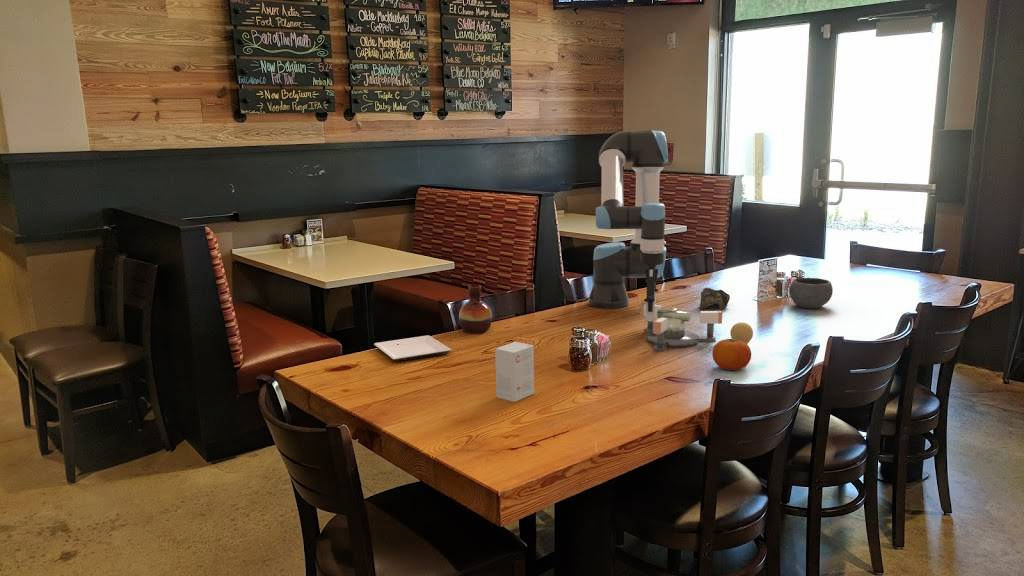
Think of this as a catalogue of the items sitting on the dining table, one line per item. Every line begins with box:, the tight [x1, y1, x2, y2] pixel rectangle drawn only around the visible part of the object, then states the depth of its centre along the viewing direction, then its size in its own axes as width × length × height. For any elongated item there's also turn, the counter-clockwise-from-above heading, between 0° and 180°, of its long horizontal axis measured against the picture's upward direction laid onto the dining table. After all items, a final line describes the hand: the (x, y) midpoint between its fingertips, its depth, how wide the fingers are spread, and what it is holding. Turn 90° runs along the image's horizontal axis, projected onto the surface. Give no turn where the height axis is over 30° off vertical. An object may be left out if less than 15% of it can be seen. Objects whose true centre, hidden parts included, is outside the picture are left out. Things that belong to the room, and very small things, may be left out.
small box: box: [494, 341, 535, 403], centre depth 197 cm, size 8×6×13 cm
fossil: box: [699, 287, 731, 311], centre depth 287 cm, size 11×9×10 cm
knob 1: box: [639, 302, 662, 329], centre depth 255 cm, size 6×2×8 cm, turn 60°
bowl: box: [789, 277, 834, 309], centre depth 287 cm, size 15×15×10 cm
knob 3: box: [699, 310, 723, 337], centre depth 245 cm, size 6×2×8 cm, turn 88°
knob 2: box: [653, 317, 668, 346], centre depth 236 cm, size 6×2×8 cm, turn 148°
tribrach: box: [643, 307, 717, 352], centre depth 243 cm, size 24×21×10 cm
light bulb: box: [730, 322, 754, 345], centre depth 228 cm, size 6×6×10 cm
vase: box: [458, 284, 493, 334], centre depth 260 cm, size 11×11×15 cm
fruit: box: [711, 338, 752, 371], centre depth 217 cm, size 11×10×8 cm
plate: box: [373, 334, 453, 362], centre depth 238 cm, size 19×19×2 cm
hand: (650, 316), depth 255 cm, fingers open, 12 cm apart
